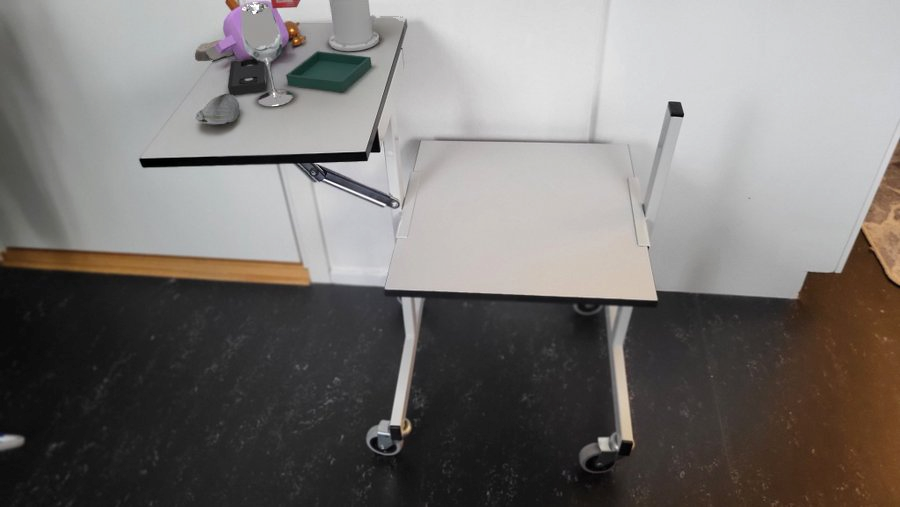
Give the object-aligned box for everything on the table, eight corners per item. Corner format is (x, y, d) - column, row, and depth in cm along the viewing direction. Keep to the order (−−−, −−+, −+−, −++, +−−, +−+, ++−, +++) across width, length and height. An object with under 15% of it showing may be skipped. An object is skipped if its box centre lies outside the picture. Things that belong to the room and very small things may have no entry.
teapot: (213, 11, 148) (197, 29, 158) (241, 63, 151) (224, 78, 161) (286, -15, 158) (267, 4, 169) (311, 35, 162) (291, 51, 172)
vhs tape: (266, 90, 148) (264, 82, 147) (230, 95, 147) (227, 86, 146) (266, 65, 159) (264, 57, 158) (233, 69, 158) (230, 61, 157)
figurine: (284, 54, 167) (320, 35, 171) (279, 41, 164) (315, 22, 168) (262, 43, 174) (297, 25, 178) (257, 31, 172) (292, 12, 176)
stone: (201, 65, 162) (197, 51, 160) (193, 60, 165) (189, 46, 162) (245, 50, 167) (242, 37, 165) (237, 46, 170) (233, 32, 168)
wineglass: (289, 106, 142) (269, 12, 129) (253, 107, 142) (230, 14, 130) (296, 90, 148) (278, -1, 135) (262, 91, 148) (240, 0, 136)
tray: (318, 61, 161) (317, 51, 159) (371, 67, 156) (370, 57, 155) (288, 85, 150) (285, 75, 149) (343, 92, 146) (341, 82, 145)
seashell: (214, 107, 143) (208, 85, 140) (250, 108, 142) (245, 86, 139) (190, 134, 134) (183, 111, 131) (229, 135, 133) (222, 112, 130)
